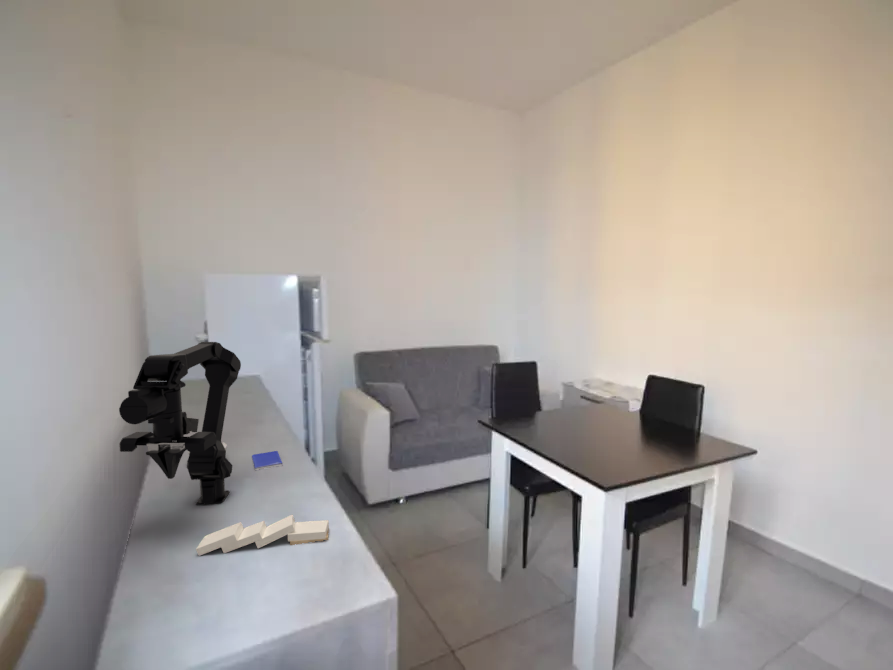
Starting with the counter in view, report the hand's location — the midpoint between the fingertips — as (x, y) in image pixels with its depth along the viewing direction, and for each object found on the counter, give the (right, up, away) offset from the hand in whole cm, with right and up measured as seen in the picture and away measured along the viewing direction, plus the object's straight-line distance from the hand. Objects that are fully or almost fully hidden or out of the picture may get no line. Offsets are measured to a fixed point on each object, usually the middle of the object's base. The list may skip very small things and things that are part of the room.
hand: (171, 478), depth 99 cm
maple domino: (+28, -13, -1) cm, 31 cm away
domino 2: (+15, -13, -4) cm, 20 cm away
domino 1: (+10, -13, -5) cm, 17 cm away
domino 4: (+27, -12, -1) cm, 30 cm away
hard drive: (+4, -10, +43) cm, 45 cm away
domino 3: (+21, -13, -3) cm, 25 cm away
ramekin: (-15, -9, +42) cm, 46 cm away
